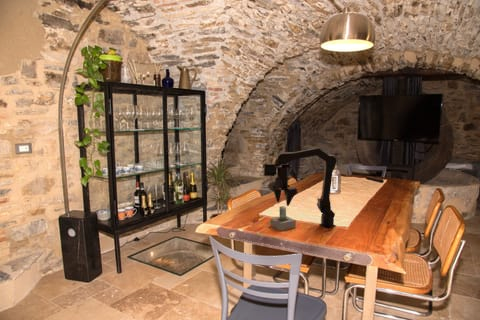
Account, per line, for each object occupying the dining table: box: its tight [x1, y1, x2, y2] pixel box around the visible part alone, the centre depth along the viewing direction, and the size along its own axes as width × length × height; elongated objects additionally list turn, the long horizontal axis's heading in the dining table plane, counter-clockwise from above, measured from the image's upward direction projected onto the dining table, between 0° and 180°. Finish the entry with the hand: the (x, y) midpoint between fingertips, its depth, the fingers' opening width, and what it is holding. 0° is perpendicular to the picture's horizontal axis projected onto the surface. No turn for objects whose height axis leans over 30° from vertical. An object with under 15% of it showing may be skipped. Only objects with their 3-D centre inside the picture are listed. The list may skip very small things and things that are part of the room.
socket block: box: [269, 215, 297, 232], centre depth 178 cm, size 10×10×4 cm
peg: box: [279, 205, 287, 221], centre depth 178 cm, size 4×4×10 cm
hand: (282, 203), depth 177 cm, fingers open, 9 cm apart
